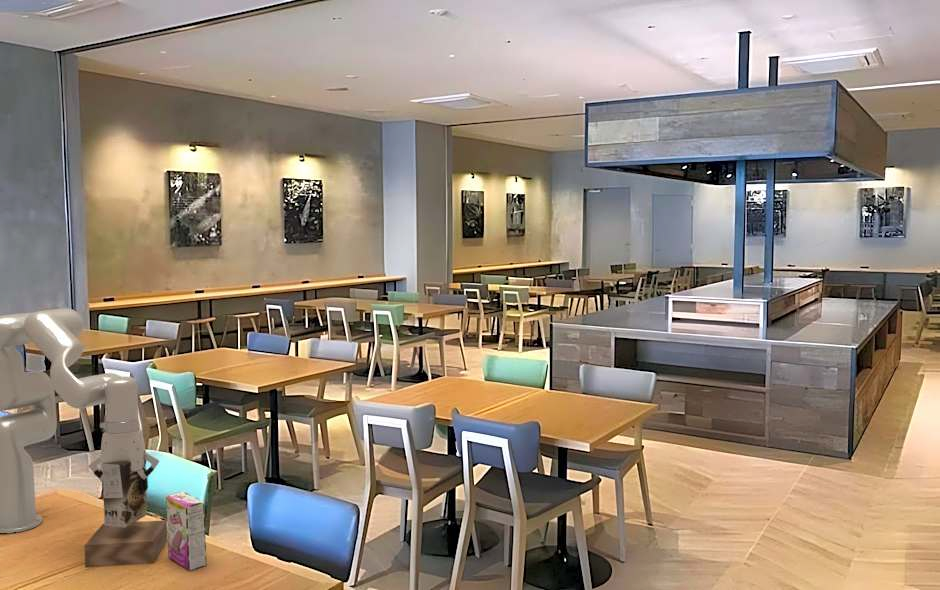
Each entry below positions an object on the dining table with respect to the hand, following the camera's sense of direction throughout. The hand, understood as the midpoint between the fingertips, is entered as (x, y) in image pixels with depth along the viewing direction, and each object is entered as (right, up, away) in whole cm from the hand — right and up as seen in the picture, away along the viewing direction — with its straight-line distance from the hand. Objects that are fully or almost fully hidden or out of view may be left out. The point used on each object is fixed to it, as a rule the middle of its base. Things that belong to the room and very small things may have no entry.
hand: (125, 493), depth 196 cm
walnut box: (0, -16, +1) cm, 16 cm away
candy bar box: (+17, -16, -4) cm, 24 cm away
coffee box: (0, -7, +1) cm, 7 cm away
